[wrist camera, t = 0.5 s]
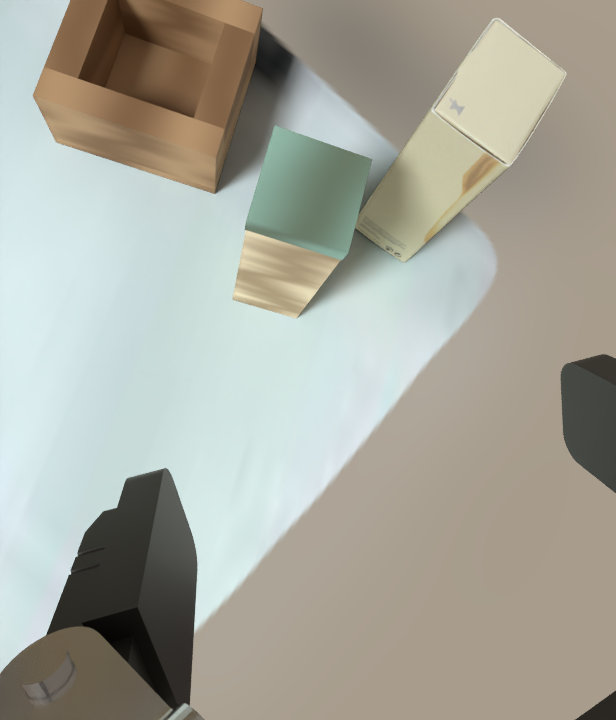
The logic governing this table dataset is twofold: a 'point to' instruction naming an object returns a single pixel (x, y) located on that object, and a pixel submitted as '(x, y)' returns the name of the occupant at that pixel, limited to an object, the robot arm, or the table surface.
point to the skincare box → (462, 140)
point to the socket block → (151, 82)
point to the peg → (298, 221)
